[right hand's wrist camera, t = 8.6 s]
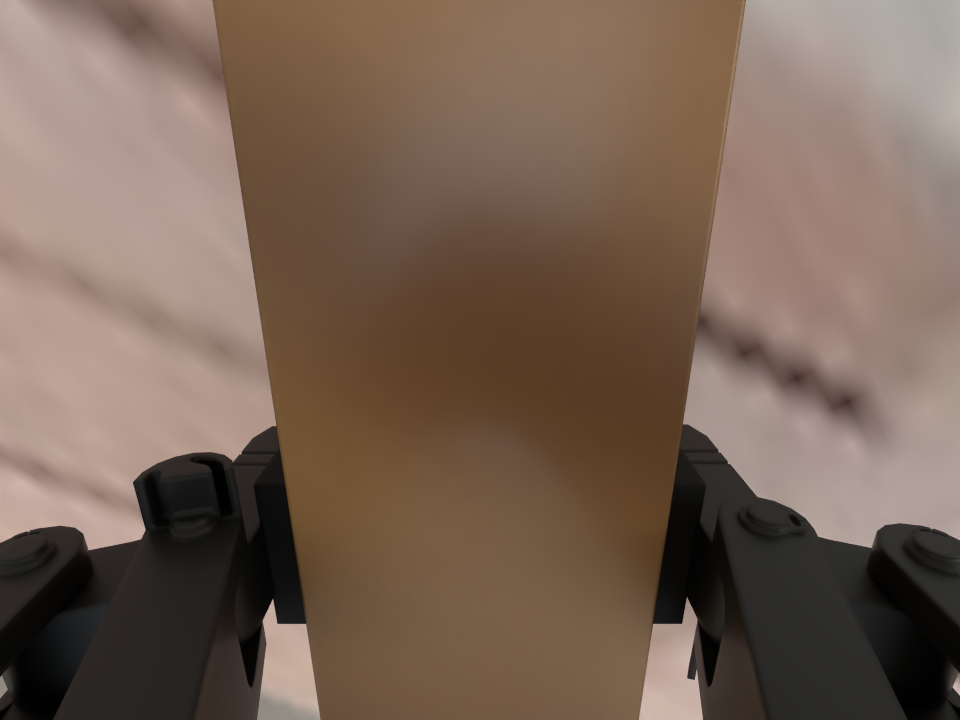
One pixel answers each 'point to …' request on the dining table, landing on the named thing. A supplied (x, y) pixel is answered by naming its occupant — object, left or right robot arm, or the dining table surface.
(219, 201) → the dining table surface
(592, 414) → the post
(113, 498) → the dining table surface
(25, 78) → the dining table surface
